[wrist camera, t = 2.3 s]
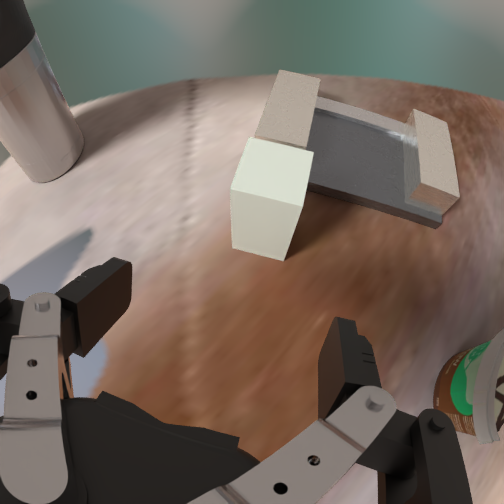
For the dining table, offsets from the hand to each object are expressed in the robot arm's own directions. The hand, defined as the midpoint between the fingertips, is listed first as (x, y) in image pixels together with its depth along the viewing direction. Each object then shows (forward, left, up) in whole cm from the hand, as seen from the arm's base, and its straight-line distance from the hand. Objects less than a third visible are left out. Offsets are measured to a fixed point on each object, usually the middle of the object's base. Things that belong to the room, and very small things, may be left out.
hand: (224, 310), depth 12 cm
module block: (0, +12, -16) cm, 20 cm away
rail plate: (+8, +25, -16) cm, 31 cm away
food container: (+23, +2, -17) cm, 28 cm away
